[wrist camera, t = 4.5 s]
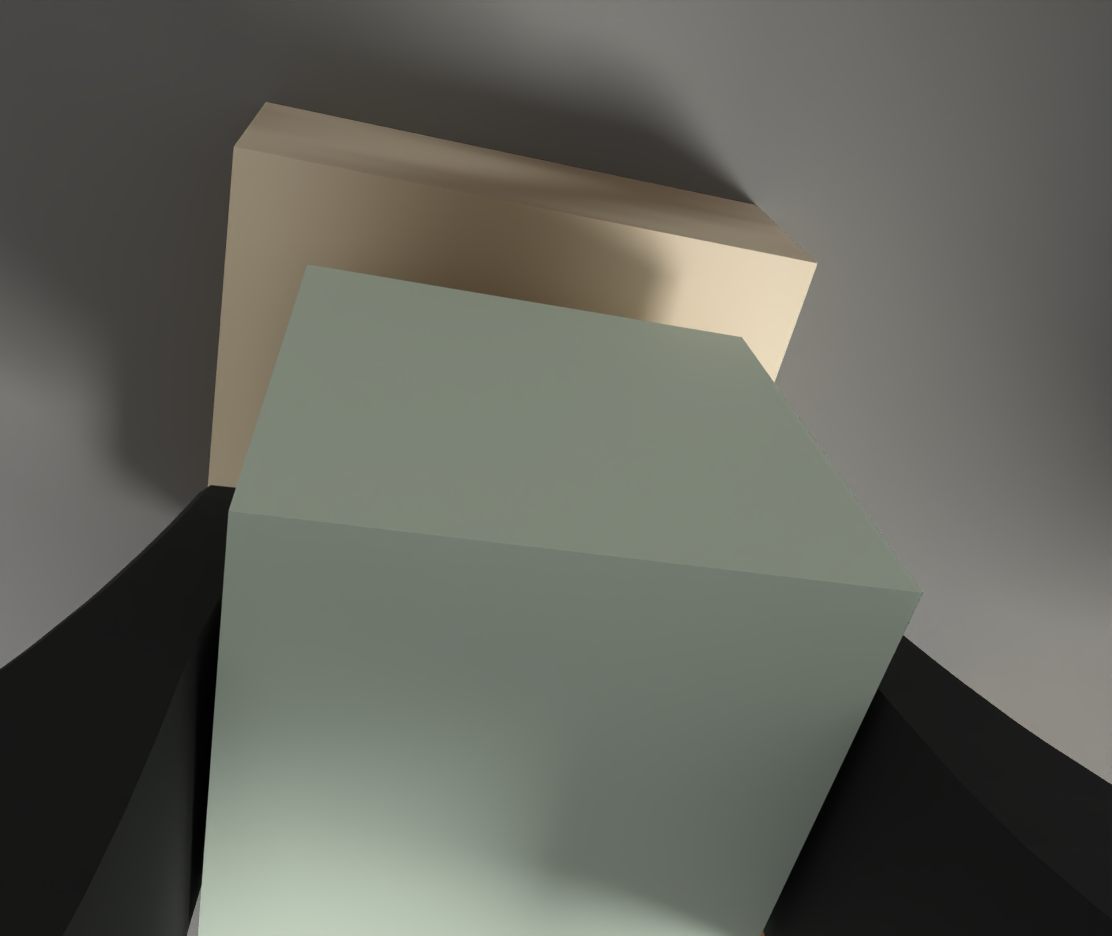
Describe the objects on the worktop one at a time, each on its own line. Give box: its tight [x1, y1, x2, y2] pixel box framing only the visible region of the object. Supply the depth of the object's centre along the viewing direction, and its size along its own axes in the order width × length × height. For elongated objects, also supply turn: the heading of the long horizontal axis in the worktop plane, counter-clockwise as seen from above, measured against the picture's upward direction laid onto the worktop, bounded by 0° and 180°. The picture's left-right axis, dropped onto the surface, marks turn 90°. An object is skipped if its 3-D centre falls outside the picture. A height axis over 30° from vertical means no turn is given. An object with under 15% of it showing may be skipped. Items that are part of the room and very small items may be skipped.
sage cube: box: [198, 264, 923, 936], centre depth 10 cm, size 5×5×5 cm
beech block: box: [208, 102, 818, 488], centre depth 15 cm, size 7×7×3 cm
